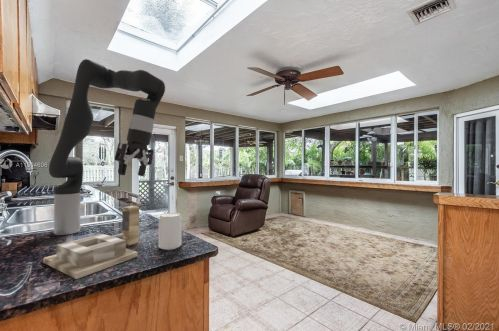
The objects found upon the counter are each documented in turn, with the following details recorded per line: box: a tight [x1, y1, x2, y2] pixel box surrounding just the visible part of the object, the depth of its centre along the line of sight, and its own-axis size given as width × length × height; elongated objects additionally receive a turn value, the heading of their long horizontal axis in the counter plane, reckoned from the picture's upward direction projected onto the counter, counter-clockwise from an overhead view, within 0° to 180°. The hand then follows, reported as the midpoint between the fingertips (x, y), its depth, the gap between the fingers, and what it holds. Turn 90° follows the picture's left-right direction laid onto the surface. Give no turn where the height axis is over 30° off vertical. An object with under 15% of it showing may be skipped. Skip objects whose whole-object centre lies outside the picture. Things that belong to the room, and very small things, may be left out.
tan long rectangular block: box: [121, 205, 140, 246], centre depth 91 cm, size 4×5×14 cm
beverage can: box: [158, 212, 183, 251], centre depth 88 cm, size 8×8×12 cm
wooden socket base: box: [42, 233, 139, 280], centre depth 76 cm, size 20×18×6 cm
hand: (131, 175), depth 83 cm, fingers open, 8 cm apart
